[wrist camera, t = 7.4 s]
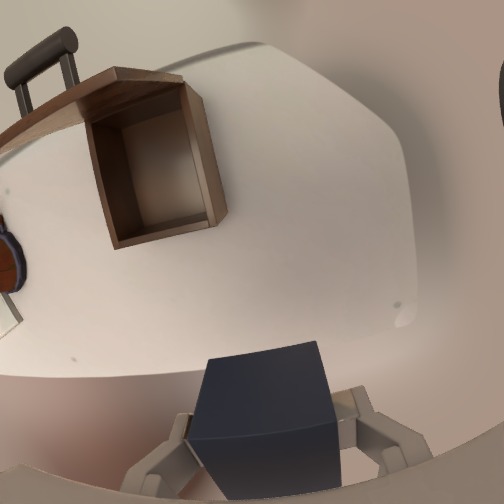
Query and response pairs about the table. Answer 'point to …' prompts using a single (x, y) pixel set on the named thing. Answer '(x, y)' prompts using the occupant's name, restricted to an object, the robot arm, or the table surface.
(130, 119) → the chest
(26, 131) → the lid
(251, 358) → the block
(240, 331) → the table surface
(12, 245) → the mug
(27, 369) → the table surface
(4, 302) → the hard drive
